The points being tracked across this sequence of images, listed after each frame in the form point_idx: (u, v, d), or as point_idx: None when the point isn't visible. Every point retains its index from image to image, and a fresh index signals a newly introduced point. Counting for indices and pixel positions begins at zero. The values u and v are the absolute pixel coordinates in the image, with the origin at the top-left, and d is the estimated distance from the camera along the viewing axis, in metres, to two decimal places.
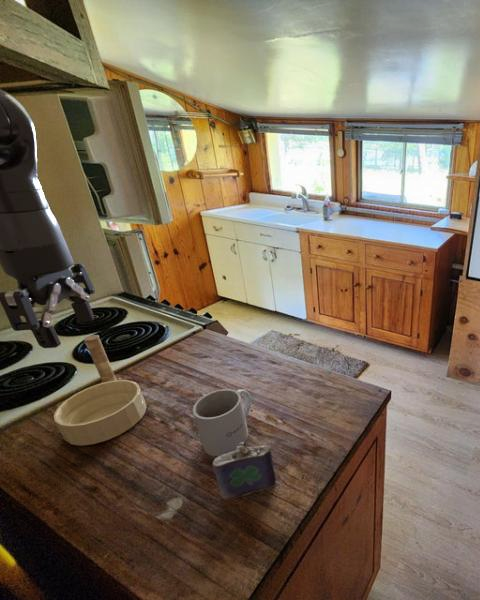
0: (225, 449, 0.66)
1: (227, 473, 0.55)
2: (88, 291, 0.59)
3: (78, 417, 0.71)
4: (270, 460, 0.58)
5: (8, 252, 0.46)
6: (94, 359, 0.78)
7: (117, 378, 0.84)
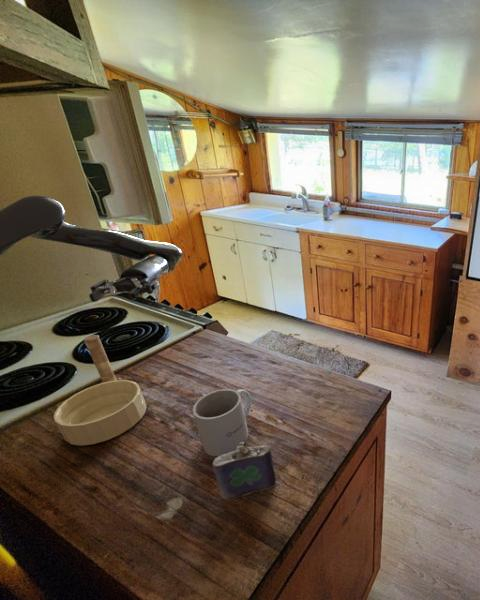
0: (225, 449, 0.66)
1: (227, 473, 0.55)
2: None
3: (78, 417, 0.71)
4: (270, 460, 0.58)
5: None
6: (94, 359, 0.78)
7: (117, 378, 0.84)
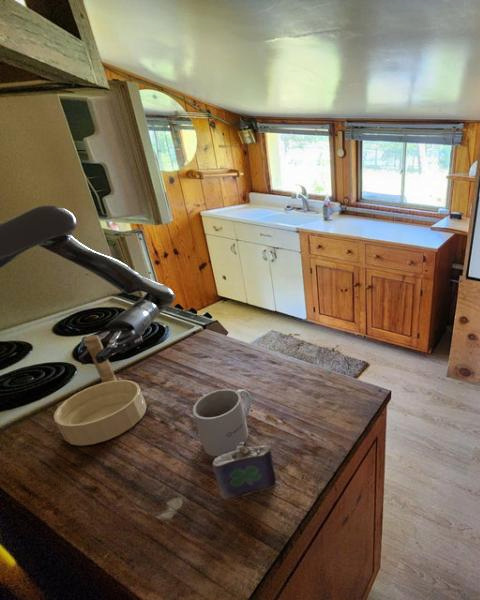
0: (225, 449, 0.66)
1: (227, 473, 0.55)
2: None
3: (78, 417, 0.71)
4: (270, 460, 0.58)
5: (141, 324, 0.91)
6: (94, 359, 0.78)
7: (117, 378, 0.84)
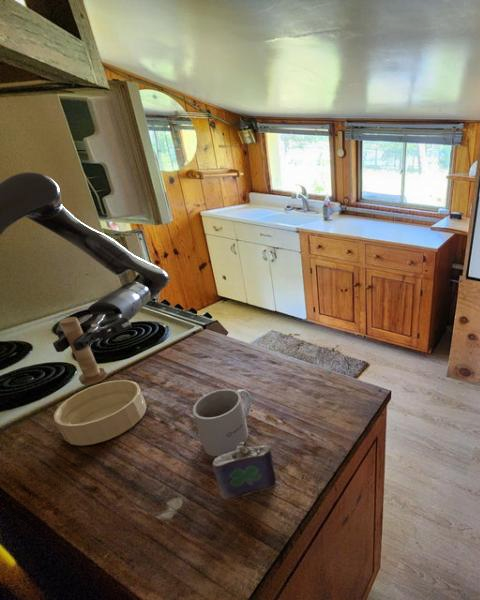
0: (225, 449, 0.66)
1: (227, 473, 0.55)
2: None
3: (78, 417, 0.71)
4: (270, 460, 0.58)
5: None
6: (72, 346, 0.66)
7: (101, 369, 0.72)
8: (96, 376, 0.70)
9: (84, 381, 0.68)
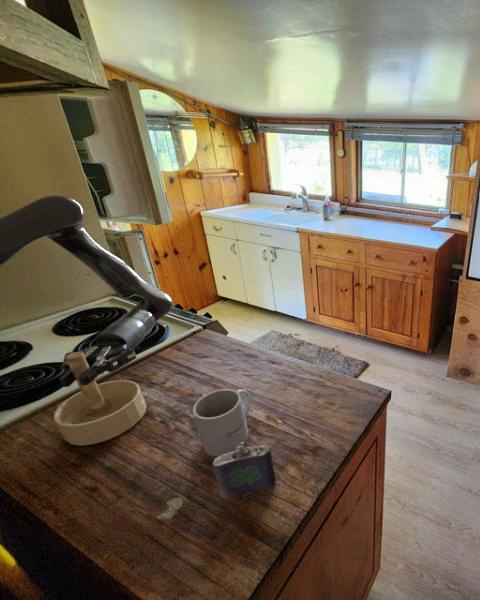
0: (225, 449, 0.66)
1: (227, 473, 0.55)
2: None
3: (78, 417, 0.71)
4: (270, 460, 0.58)
5: None
6: (78, 380, 0.67)
7: (106, 400, 0.73)
8: (101, 408, 0.71)
9: (90, 413, 0.69)
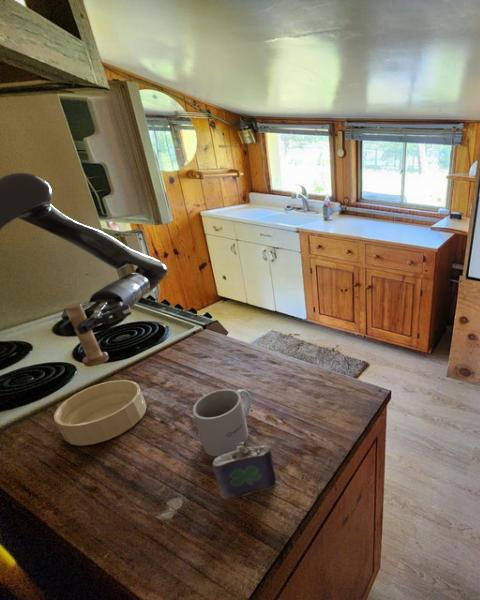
0: (225, 449, 0.66)
1: (227, 473, 0.55)
2: None
3: (78, 417, 0.71)
4: (270, 460, 0.58)
5: None
6: (76, 330, 0.71)
7: (103, 352, 0.77)
8: (98, 358, 0.75)
9: (88, 363, 0.74)
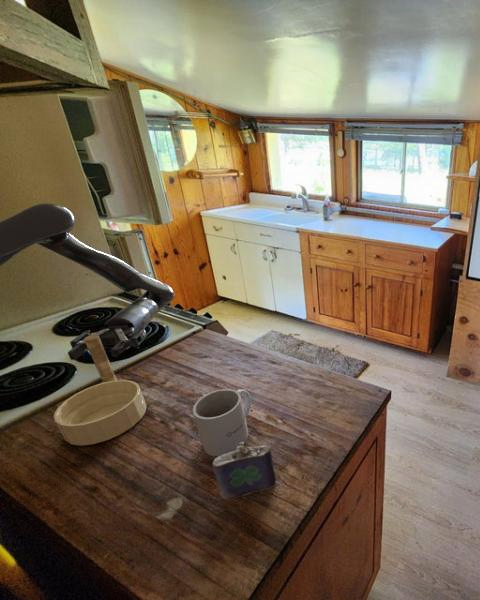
0: (225, 449, 0.66)
1: (227, 473, 0.55)
2: None
3: (78, 417, 0.71)
4: (270, 460, 0.58)
5: None
6: (94, 359, 0.78)
7: (117, 378, 0.84)
8: None
9: None
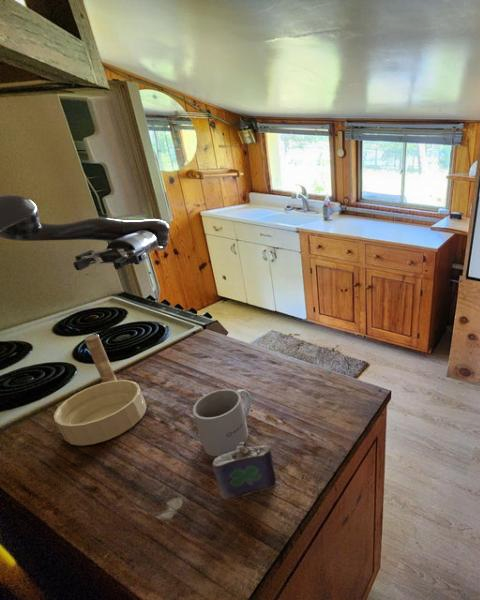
0: (225, 449, 0.66)
1: (227, 473, 0.55)
2: None
3: (78, 417, 0.71)
4: (270, 460, 0.58)
5: None
6: (94, 359, 0.78)
7: (117, 378, 0.84)
8: None
9: None
